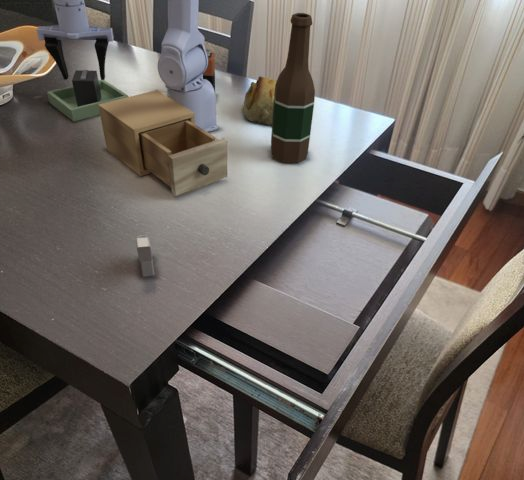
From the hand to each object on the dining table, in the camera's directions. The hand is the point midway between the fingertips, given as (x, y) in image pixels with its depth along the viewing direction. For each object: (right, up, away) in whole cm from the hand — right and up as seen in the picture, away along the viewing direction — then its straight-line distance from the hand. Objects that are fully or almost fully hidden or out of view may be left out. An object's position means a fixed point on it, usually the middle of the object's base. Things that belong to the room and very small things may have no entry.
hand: (84, 78), depth 105 cm
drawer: (+24, -26, -16) cm, 39 cm away
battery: (+24, +1, +10) cm, 26 cm away
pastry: (+40, -6, +5) cm, 41 cm away
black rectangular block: (0, -3, +4) cm, 5 cm away
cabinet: (+16, -20, -9) cm, 28 cm away
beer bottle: (+44, -19, -7) cm, 48 cm away
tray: (0, -4, +4) cm, 6 cm away
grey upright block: (+22, -48, -33) cm, 62 cm away
